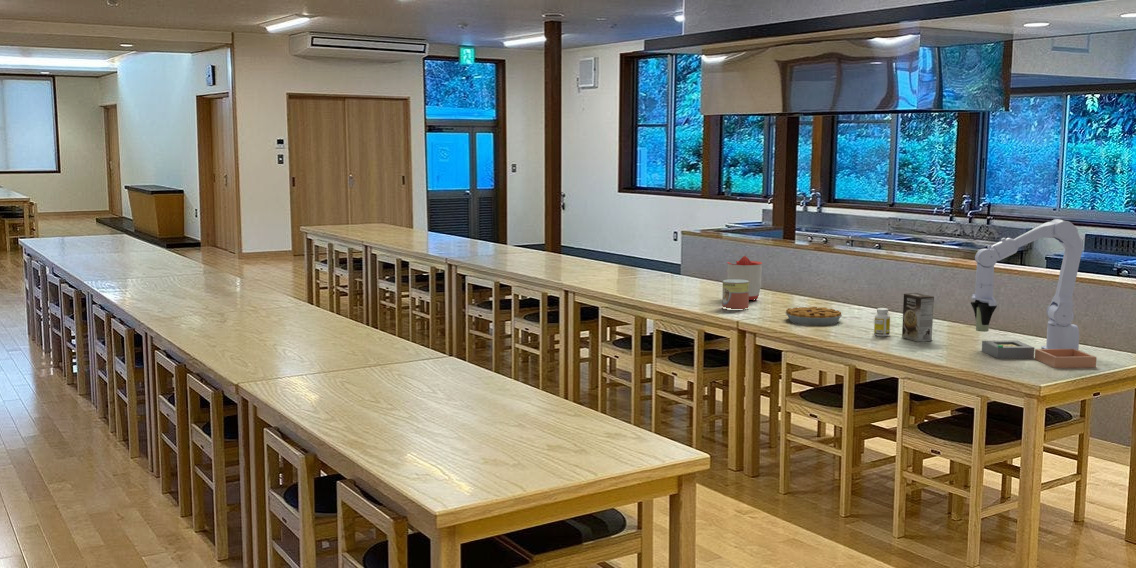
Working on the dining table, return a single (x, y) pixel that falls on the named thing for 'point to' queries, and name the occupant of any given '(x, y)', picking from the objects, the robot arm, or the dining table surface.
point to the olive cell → (980, 323)
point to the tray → (1065, 358)
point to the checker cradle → (1008, 349)
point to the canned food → (735, 294)
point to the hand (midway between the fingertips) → (982, 323)
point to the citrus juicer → (747, 274)
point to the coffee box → (917, 317)
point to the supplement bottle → (882, 322)
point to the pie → (813, 315)
